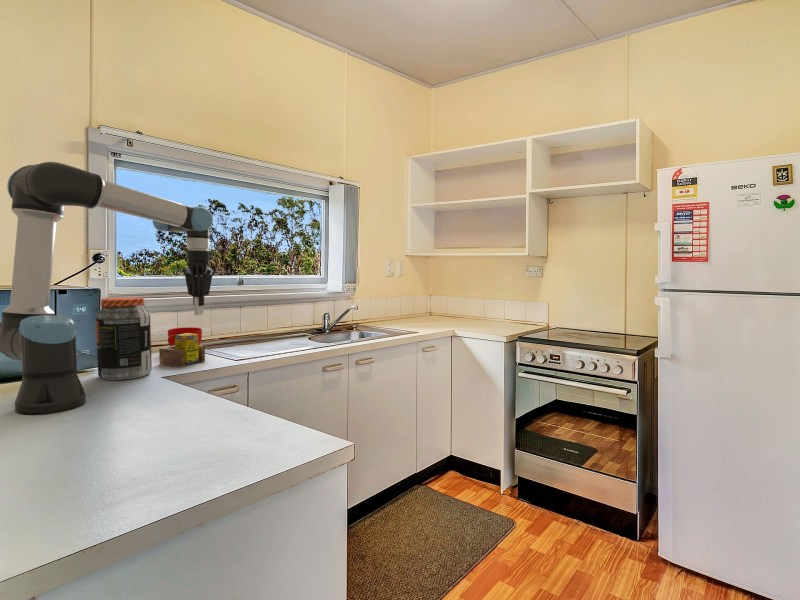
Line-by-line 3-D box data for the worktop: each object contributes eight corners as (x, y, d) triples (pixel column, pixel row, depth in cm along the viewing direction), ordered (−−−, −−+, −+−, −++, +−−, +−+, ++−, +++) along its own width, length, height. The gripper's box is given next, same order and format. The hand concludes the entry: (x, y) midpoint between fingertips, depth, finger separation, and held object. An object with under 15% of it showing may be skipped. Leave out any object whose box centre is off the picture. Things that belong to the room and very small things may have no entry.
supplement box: (187, 365, 179) (186, 335, 178) (174, 363, 181) (174, 334, 180) (199, 362, 184) (198, 333, 183) (187, 360, 186) (186, 332, 186)
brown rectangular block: (181, 367, 176) (181, 350, 175) (159, 364, 179) (159, 348, 179) (205, 361, 186) (204, 345, 186) (184, 358, 190) (183, 343, 190)
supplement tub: (162, 372, 166) (160, 297, 164) (122, 383, 152) (119, 301, 150) (128, 368, 172) (125, 296, 170) (86, 378, 157) (83, 299, 155)
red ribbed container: (154, 357, 192) (153, 332, 191) (181, 349, 208) (180, 326, 208) (184, 359, 190) (183, 333, 189) (208, 351, 206) (208, 328, 205)
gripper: (219, 250, 177) (220, 314, 179) (192, 250, 182) (192, 312, 184) (204, 249, 170) (205, 316, 172) (176, 249, 175) (177, 314, 177)
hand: (198, 314), depth 178 cm, fingers closed
